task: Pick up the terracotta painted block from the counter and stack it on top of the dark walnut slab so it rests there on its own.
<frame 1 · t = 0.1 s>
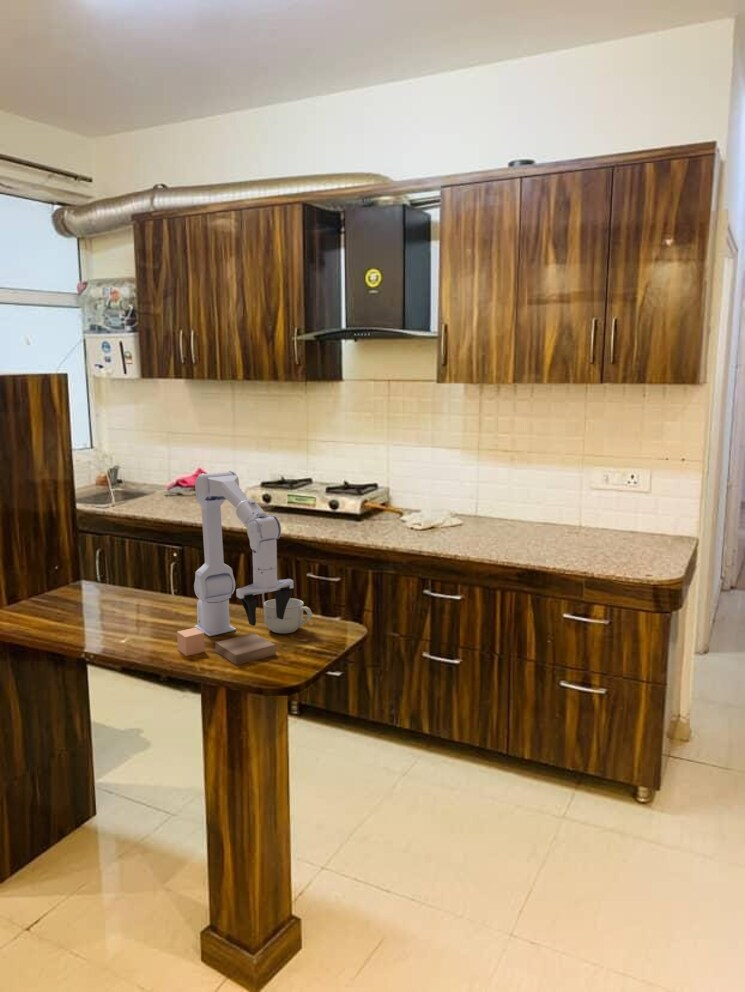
hand: (266, 621, 183), 10 cm above the table, fingers open, 7 cm apart
teacup: (288, 632, 206), on the table
walnut slab: (245, 654, 190), on the table
terracotta block: (191, 651, 191), on the table
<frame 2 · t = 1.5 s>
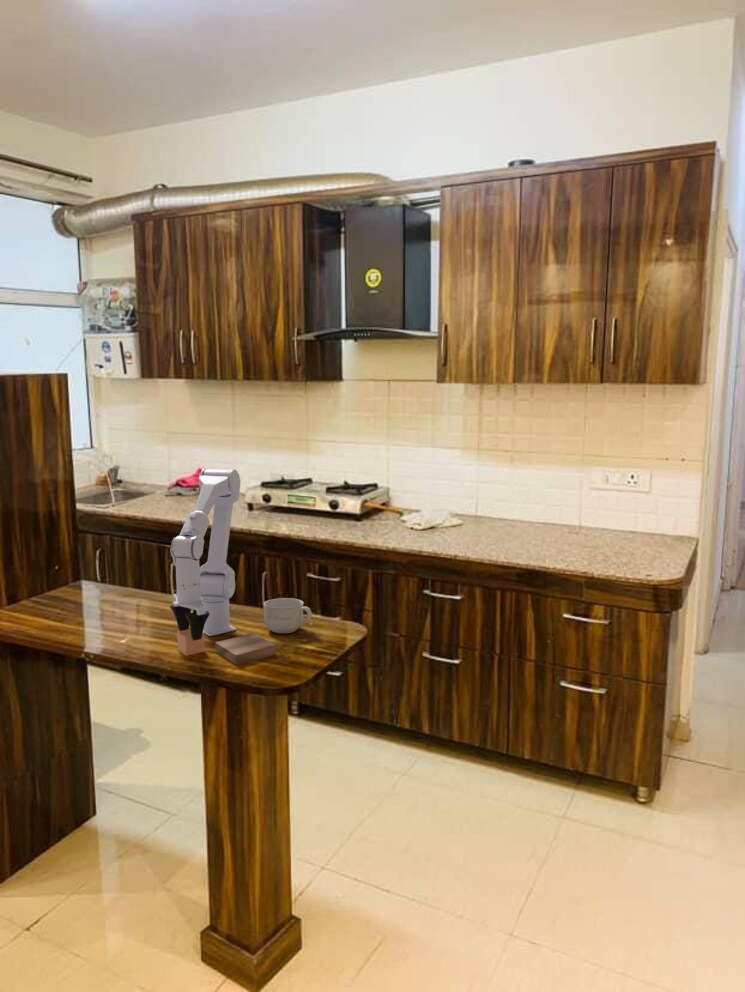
hand: (190, 635, 191), 4 cm above the table, fingers open, 7 cm apart
nothing on the table moved.
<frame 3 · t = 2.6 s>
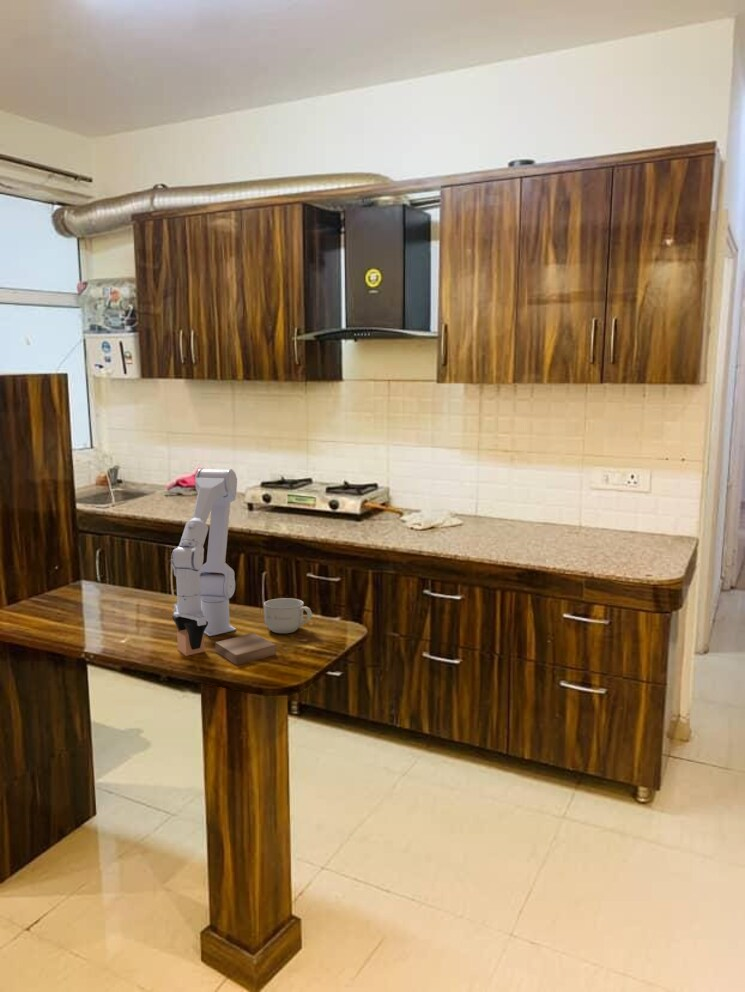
hand: (191, 645, 191), 1 cm above the table, fingers closed on terracotta block, 5 cm apart
terracotta block: (191, 650, 191), on the table, touching gripper
everything else where it was.
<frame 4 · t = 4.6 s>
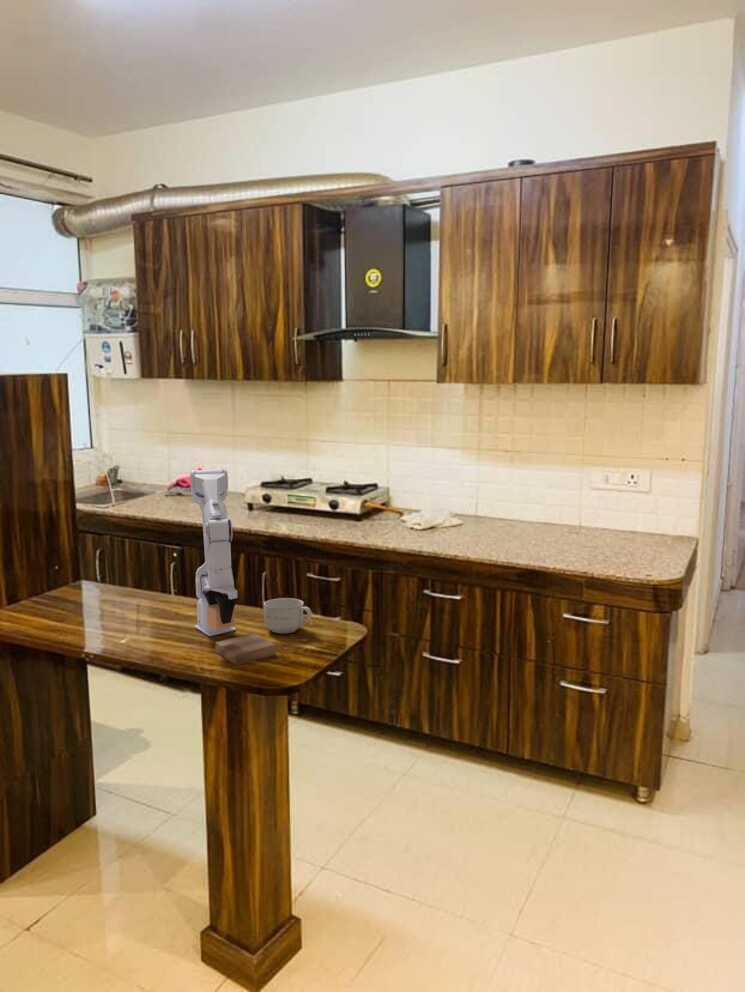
hand: (221, 620, 189), 8 cm above the table, fingers closed on terracotta block, 5 cm apart
terracotta block: (221, 625, 189), point 7 cm above the table, touching gripper
everything else where it was.
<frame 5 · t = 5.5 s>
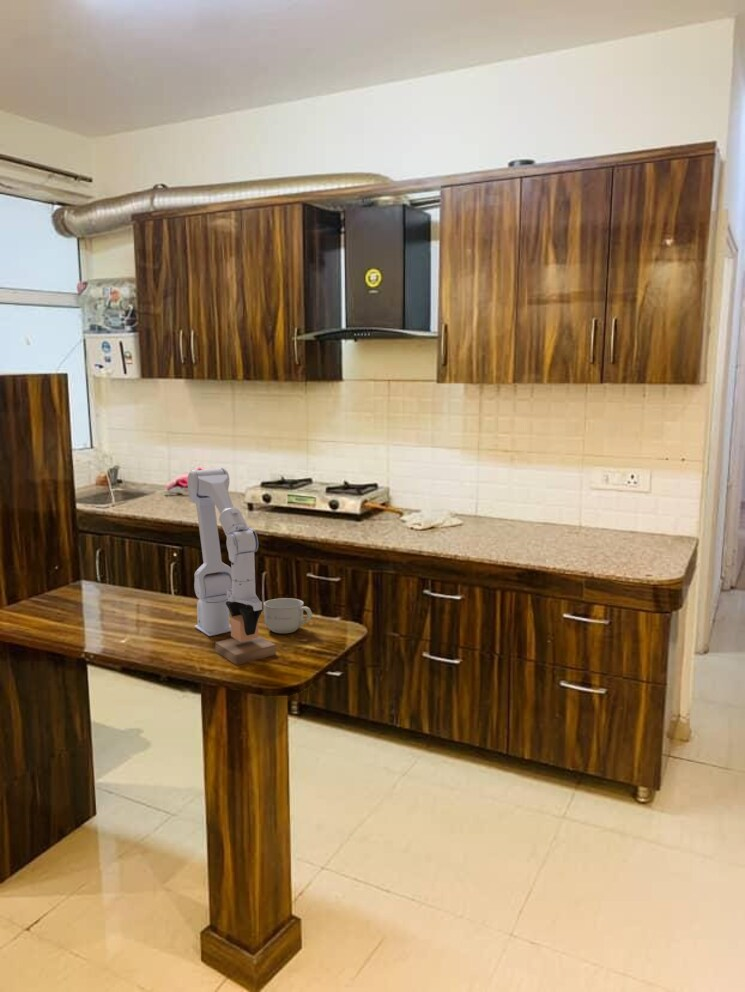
hand: (244, 631, 189), 6 cm above the table, fingers closed on terracotta block, 5 cm apart
terracotta block: (244, 636, 189), point 4 cm above the table, touching gripper
everything else where it was.
when the fingers open (6 cm above the table, at t = 6.4 s): terracotta block drops 2 cm, resting on walnut slab.
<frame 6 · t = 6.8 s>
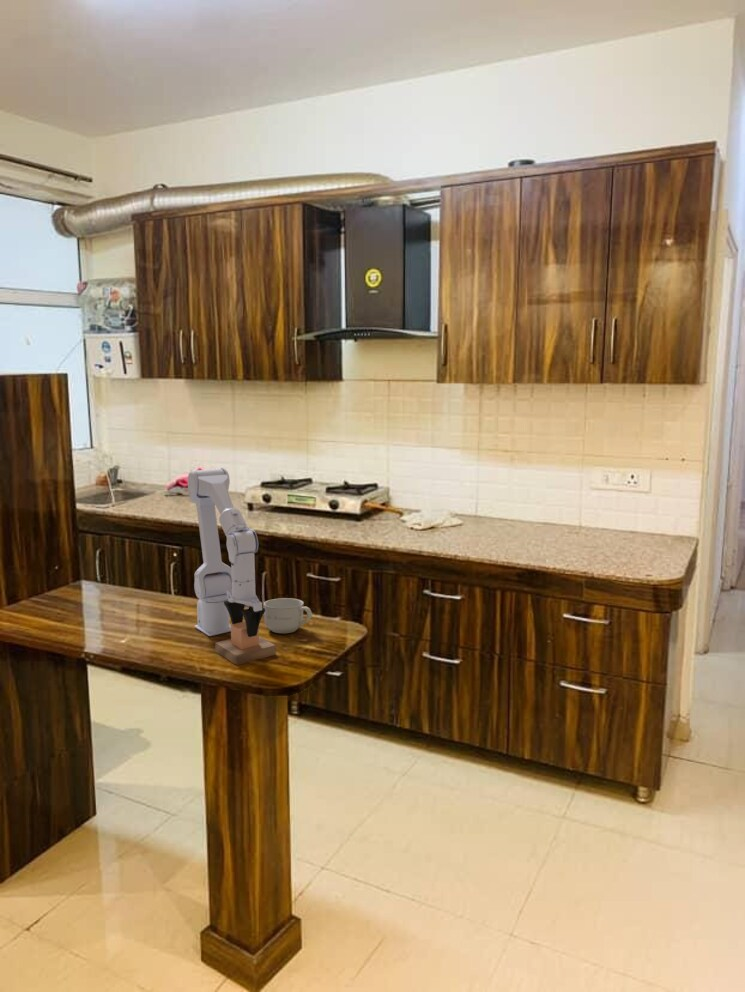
hand: (244, 631, 189), 6 cm above the table, fingers open, 7 cm apart
walnut slab: (245, 655, 190), on the table, touching terracotta block
terracotta block: (245, 644, 189), point 2 cm above the table, touching walnut slab
everything else where it was.
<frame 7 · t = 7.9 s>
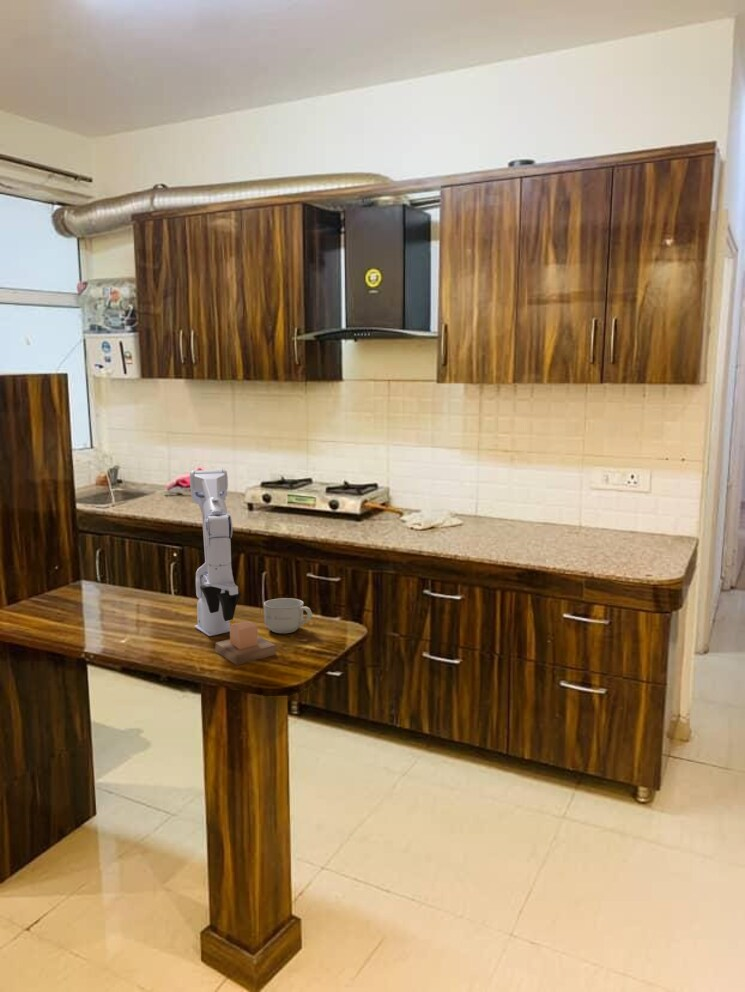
hand: (221, 615, 189), 9 cm above the table, fingers open, 7 cm apart
nothing on the table moved.
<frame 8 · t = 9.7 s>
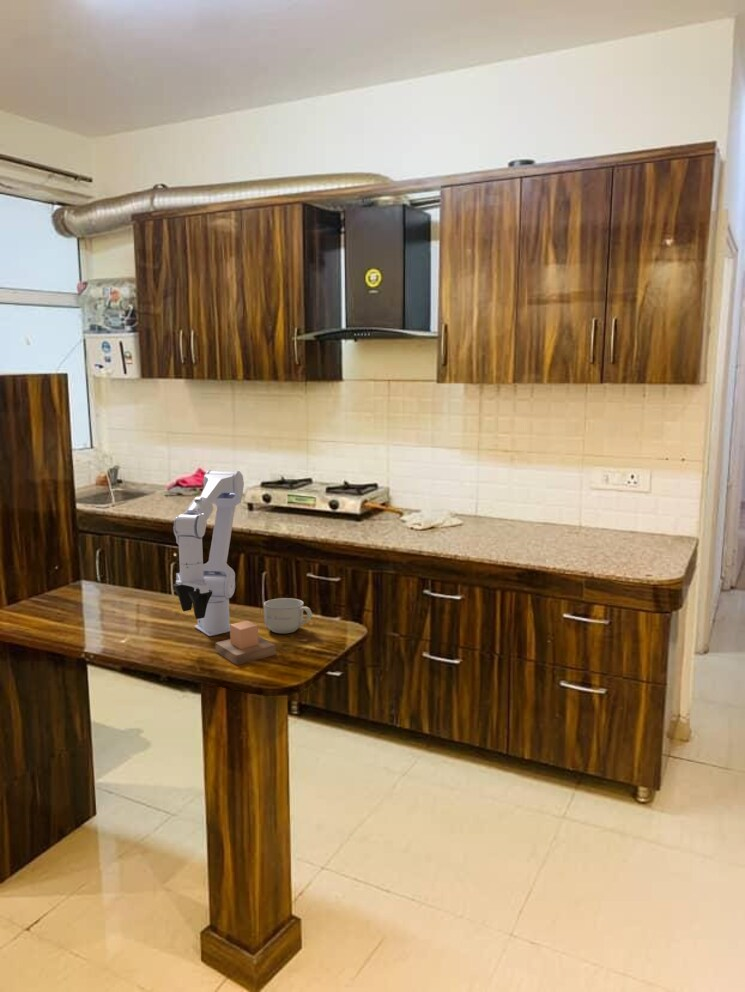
hand: (193, 614, 190), 9 cm above the table, fingers open, 7 cm apart
nothing on the table moved.
at the end: terracotta block inside the target area on the walnut slab (0.3 cm from its centre), point 3.0 cm above the walnut slab's base; terracotta block tilted 0°; the gripper is holding nothing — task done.
